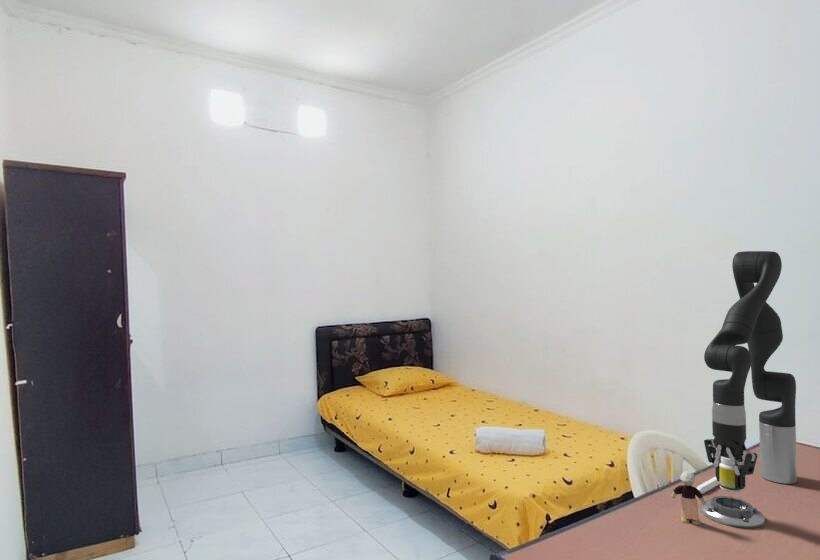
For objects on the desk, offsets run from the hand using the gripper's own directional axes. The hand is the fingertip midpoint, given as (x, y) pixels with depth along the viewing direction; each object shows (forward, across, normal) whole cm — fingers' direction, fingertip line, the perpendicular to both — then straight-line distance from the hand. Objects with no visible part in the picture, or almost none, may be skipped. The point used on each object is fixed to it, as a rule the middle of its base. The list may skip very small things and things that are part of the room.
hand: (730, 484), depth 130 cm
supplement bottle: (+1, 0, 0) cm, 1 cm away
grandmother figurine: (+8, +1, +13) cm, 16 cm away
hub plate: (+8, 0, 0) cm, 8 cm away
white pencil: (+8, +15, -9) cm, 20 cm away
